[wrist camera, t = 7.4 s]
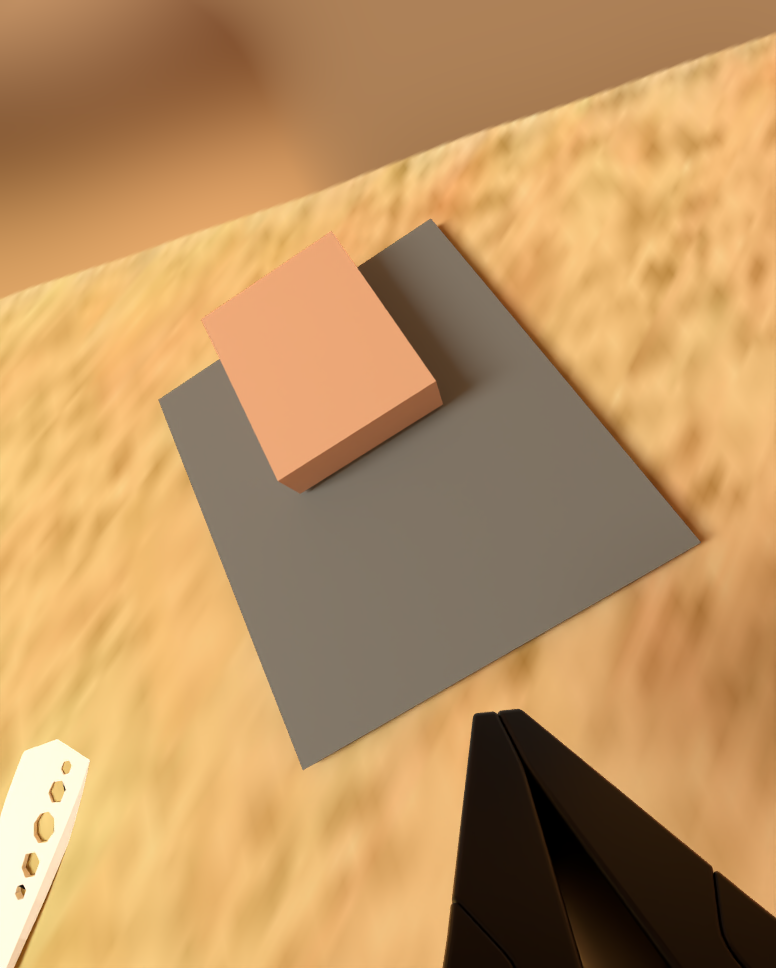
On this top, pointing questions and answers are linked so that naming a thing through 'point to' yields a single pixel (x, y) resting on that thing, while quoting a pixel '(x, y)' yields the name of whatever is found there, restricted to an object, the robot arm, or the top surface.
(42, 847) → the knife
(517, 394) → the mat
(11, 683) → the top surface
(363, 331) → the tile
